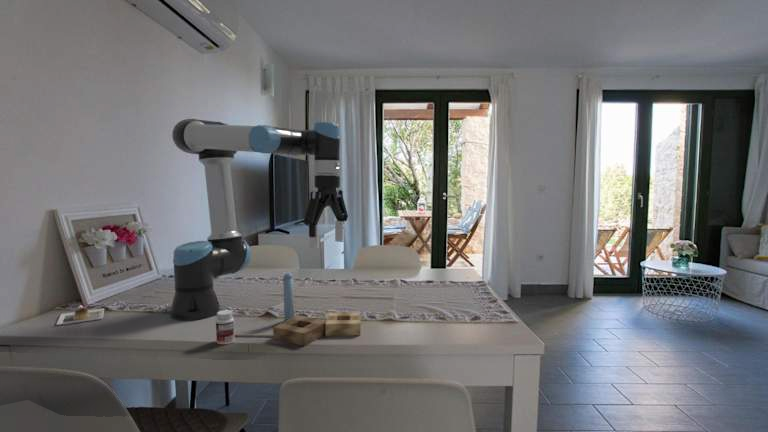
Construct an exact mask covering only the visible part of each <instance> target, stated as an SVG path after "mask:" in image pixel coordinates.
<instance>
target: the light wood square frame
mask: <svg viewBox="0 0 768 432" xmlns="http://www.w3.org/2000/svg"><path fill="white" fill-rule="evenodd" d="M325 321H326V323H325V337H327V336H329V337H334V336H335V337H336V336H337V337H338V336H361V323H362V321H361V312H360V311H359V312H327V315H326V320H325Z"/></svg>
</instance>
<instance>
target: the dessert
mask: <svg viewBox="0 0 768 432" xmlns="http://www.w3.org/2000/svg"><path fill="white" fill-rule="evenodd" d="M90 313H99V314H98V318H93V319H89V318H90V317H91V315H90ZM104 313H105V307H103V308H95V309H88V308H86V307H84V305H81V304H80V305H78V307H77V309H75V310H74V311H71V312H65V313H61V314H60V315H59V317H58V318H57V319H58V320H57V322H56V324H55V325H56V326H64V325H72V324H78V323H85V322H92V321H98V320H99V321H100V320H102V319H104ZM67 316H73V317H72V318H73V319H72V320H74V321H71V322H64V321H65V320H64V319H65V318H66V317H67ZM85 319H86V320H85Z"/></svg>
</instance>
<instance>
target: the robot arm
mask: <svg viewBox="0 0 768 432" xmlns="http://www.w3.org/2000/svg"><path fill="white" fill-rule="evenodd" d="M171 137H172V141H173V142H174V145H175V146H176V148H178V149H179V150H180V151H182V152H184V153H187V154H192V155H198V161H199V162H200V163H201V164H202V165H203V166H204V176H205V184H206V195H207V205H208V213H209V223H210V231H211V232H210V234H209V236H208V237H207V239H206V240H196V241H190V242H187V243H183V244H181V245H179V246H177V247H176V248H175V249H174V250H173V259H172V263H173V273H174V274H173V276H174V296H173V299H172V302H171V306H170V309H169V316H170V318H171V319H173V320H179V321H195V320H196V321H197V320H201V319H207V318H209V317H213V316H215V315H217V312H219V311H221V310H220V307H221V305H220V302H219V300H218V297H217V295H216V291H215V289H214V278H218V277H221V276H222V277H223V276H226V275H231V274H232V275H233V274H235V273H237V272H240V271H243V270H244V269H246V268H247V266H248V265H249V263H250V260H251V256H252V255H251V248H250V246H249V244H248V242H247V241H246V240H245V239H243V235H242V233H241V232H239V231H238V228H237V219H236V210H235V209H236V208H235V200H234V189H233V180H232V179H233V178H232V170H231V169H232V168H231V164H232V162H233V161H235V156H234V155H236V154H237V153H238V152H246V153H247V152H249V153H260V154H277V155H278V154H279V155H280V154H281V155H288V156H295V157H297V156H310V155H311V156H314V163H313V164H314V165H313V169H314V170H313V171H314V172H313V173H314V174H316V175H314V188H316V189H317V191H310V195H309V196H310V197H309V202H308V204H307V208H306V212H305V216H304V219H303V224H304V225H305V226H307V227H308V236H309V248H310V249H319V248H320V245H319V244H320V242H319V241H320V238H319V237H320V236H319V235H320V233H319V231H320V230H319V228H320V227H319V225H318V223H319V221H320V219H321V216H322V214H323V212H324V209H325V208H326V209H327V207H330V209H331V211H332V212H333V215H334V218H335V219H336V220H335V222H334V229H335V230H334V241H335V242H338V243H339V242H341V243H344V241H345V240H344V238H345V237H344V236H345V235H344V229H345V227H344V225H345V224H344V223H345V222H347V220H348V218H349V215H348V211H347V208H346V207H347V206H346V204H345V199H344V195H343V193H344V192H343V190H342V189H339V188H340V186H341V184H340V183H341V181H340V180H341V179H340V178H341V177H340V175H338V174H340V173H341V172H340V169H341V168H340V165H341V164H340V148H341V147H340V144H341V143H340V141H341V135H340V125H339V124H338V123H337V122H332V121H317V122H315V123H314V127H313V129H310V130H309V129H306V130H301V129H292V128H287V127H286V128H285V127H277V126H271V125H266V124H261V125H260V124H259V125H238V124H237V125H235V124H234V125H233V124H228V123H225V122H222V121H215V120H214V121H212V120H203V119H196V118H186V119H183V120H180V121H179V122H177V123H176V124H175V125H174V127H173V130H172V135H171Z"/></svg>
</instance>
